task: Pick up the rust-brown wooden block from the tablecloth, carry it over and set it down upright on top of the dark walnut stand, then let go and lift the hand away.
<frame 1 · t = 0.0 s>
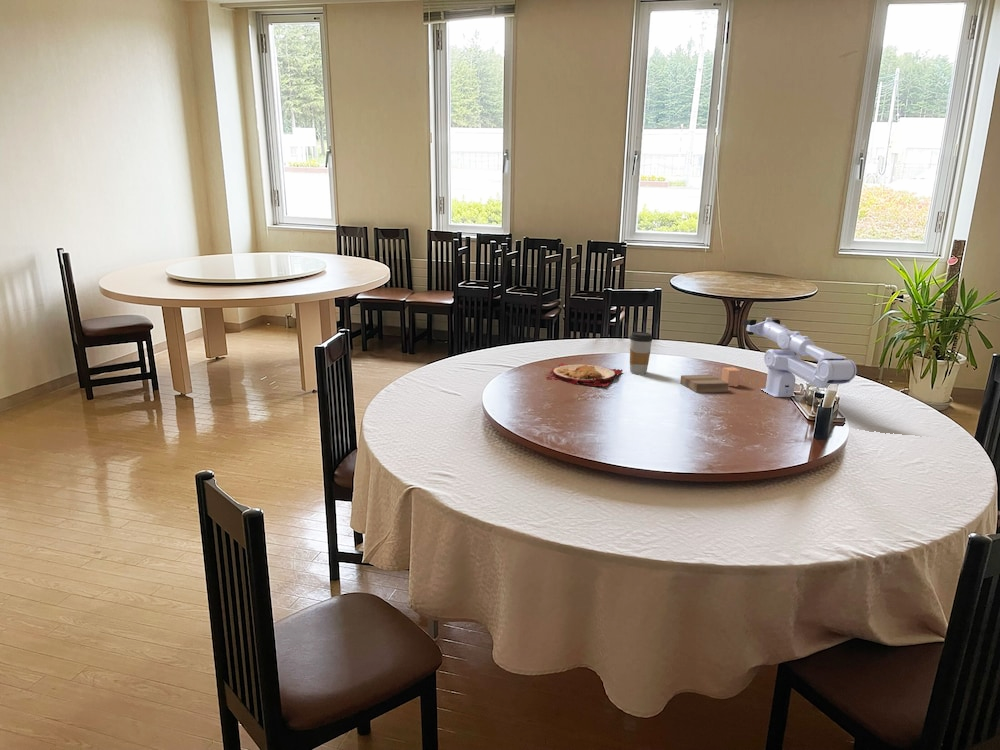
hand: (753, 322, 260), 22 cm above the table, tool horizontal, fingers open, 7 cm apart
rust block: (729, 384, 256), on the table
plate with food: (581, 378, 260), on the table
coffee cup: (638, 372, 269), on the table
walnut stand: (703, 387, 251), on the table
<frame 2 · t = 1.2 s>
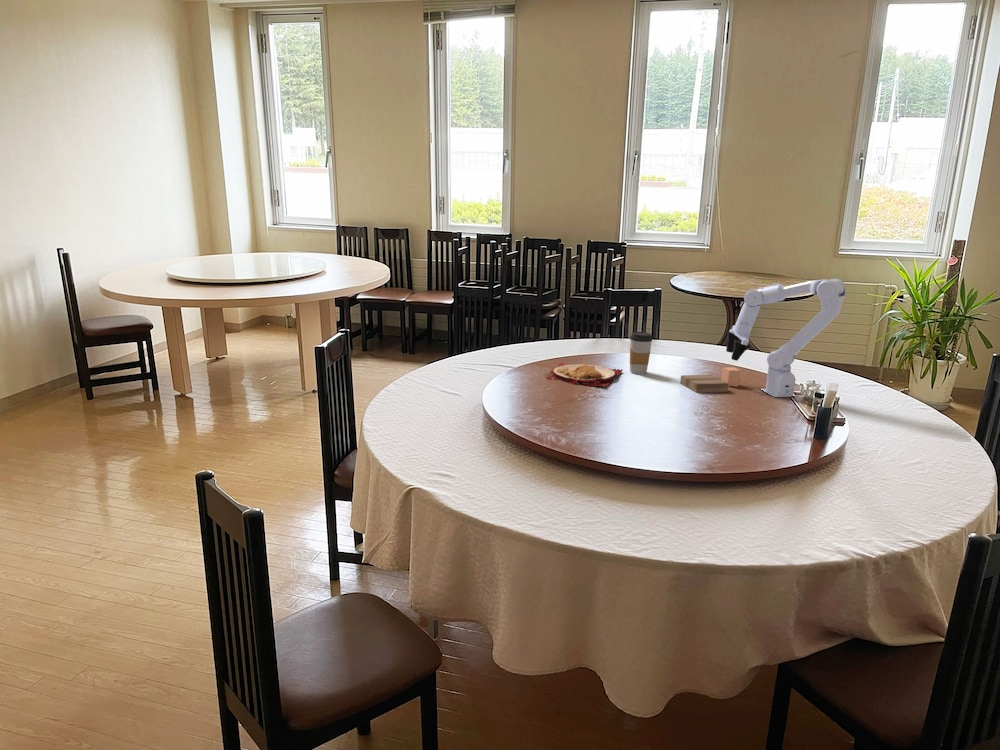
hand: (731, 355, 256), 10 cm above the table, tool pointing down, fingers open, 7 cm apart
nothing on the table moved.
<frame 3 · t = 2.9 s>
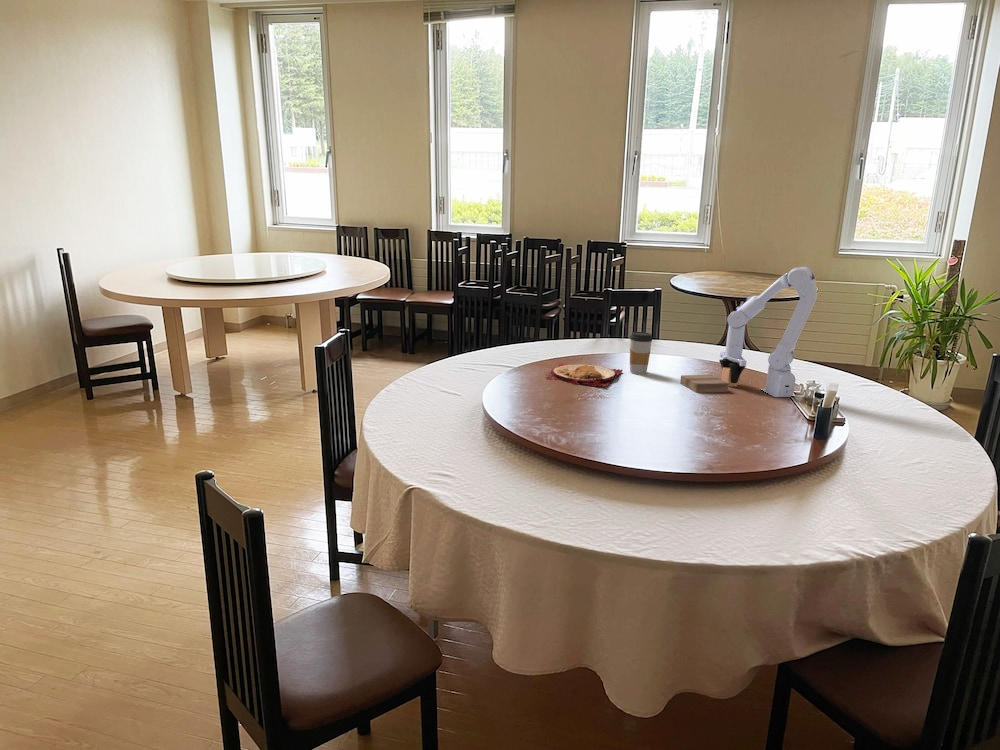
hand: (730, 380, 256), 1 cm above the table, tool pointing down, fingers closed on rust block, 4 cm apart
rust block: (729, 384, 256), on the table, touching gripper
everything else where it was.
when the fingers open (6 cm above the table, at t = 6.0 s): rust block stays where it is, resting on walnut stand.
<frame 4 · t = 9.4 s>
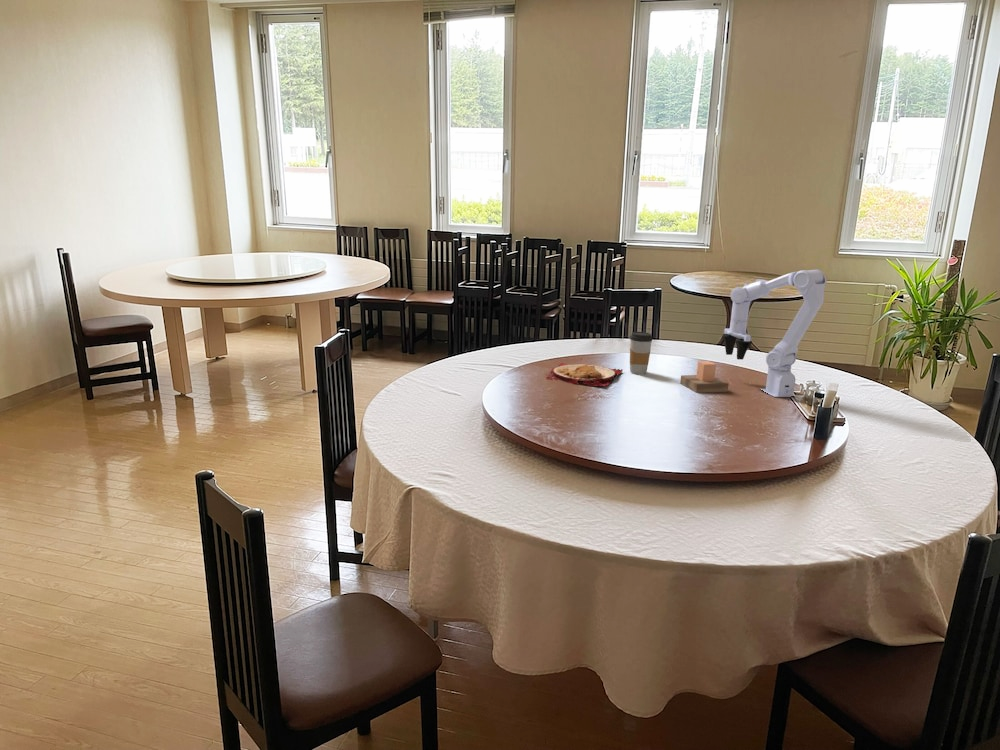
hand: (734, 356, 258), 9 cm above the table, tool pointing down, fingers open, 7 cm apart
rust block: (705, 379, 250), point 3 cm above the table, touching walnut stand
everything else where it was.
at the end: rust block 0.3 cm off-centre on the walnut stand, point 3.0 cm above the walnut stand's base; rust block tilted 0°; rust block touching walnut stand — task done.
